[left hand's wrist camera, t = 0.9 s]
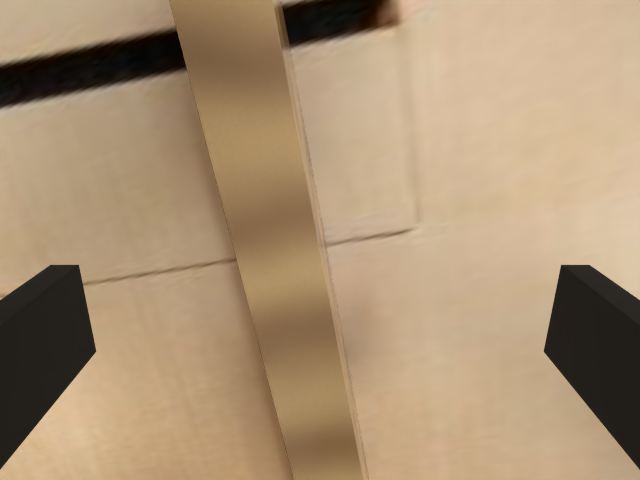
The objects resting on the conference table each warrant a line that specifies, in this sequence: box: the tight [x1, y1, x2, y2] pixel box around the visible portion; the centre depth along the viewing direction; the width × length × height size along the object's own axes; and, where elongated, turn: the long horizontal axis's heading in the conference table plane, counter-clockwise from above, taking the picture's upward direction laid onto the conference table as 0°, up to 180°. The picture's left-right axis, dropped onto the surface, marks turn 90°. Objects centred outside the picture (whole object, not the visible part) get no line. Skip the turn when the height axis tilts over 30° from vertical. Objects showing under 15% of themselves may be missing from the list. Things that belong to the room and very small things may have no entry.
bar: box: [169, 0, 369, 480], centre depth 33 cm, size 54×5×8 cm, turn 10°
